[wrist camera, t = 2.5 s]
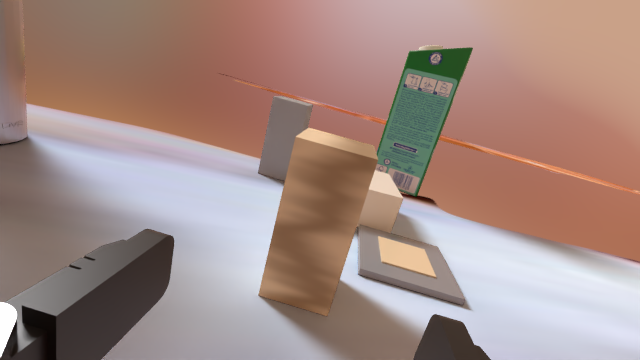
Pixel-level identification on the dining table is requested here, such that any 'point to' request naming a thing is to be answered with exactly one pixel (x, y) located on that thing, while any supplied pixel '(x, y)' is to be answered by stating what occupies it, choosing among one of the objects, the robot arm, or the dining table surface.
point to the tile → (406, 264)
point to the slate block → (283, 134)
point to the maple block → (317, 219)
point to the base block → (381, 203)
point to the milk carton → (419, 113)
